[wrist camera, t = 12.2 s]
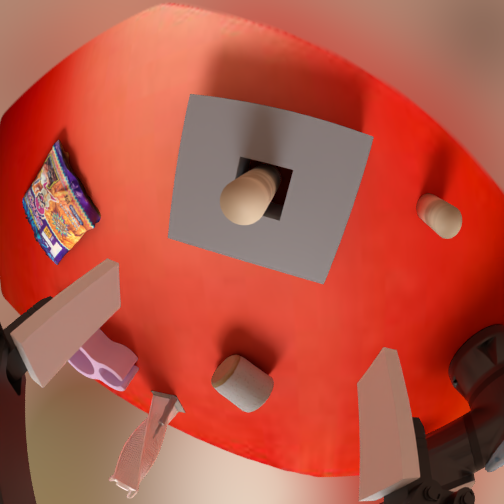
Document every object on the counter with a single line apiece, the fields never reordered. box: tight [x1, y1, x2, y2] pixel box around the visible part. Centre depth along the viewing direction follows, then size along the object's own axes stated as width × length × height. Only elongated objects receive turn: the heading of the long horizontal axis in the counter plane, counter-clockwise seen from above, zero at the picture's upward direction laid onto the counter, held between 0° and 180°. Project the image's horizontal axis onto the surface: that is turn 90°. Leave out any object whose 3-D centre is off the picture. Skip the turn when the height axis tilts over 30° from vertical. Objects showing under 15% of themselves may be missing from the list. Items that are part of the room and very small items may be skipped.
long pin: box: [220, 163, 281, 225], centre depth 26 cm, size 4×4×12 cm
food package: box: [22, 140, 101, 265], centre depth 39 cm, size 22×25×4 cm
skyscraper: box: [109, 390, 185, 498], centre depth 44 cm, size 8×8×28 cm
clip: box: [68, 329, 139, 391], centre depth 50 cm, size 20×12×7 cm, turn 76°
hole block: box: [168, 94, 374, 284], centre depth 29 cm, size 18×16×6 cm
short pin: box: [416, 193, 462, 239], centre depth 26 cm, size 4×4×6 cm
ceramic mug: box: [211, 355, 274, 412], centre depth 42 cm, size 11×8×8 cm
